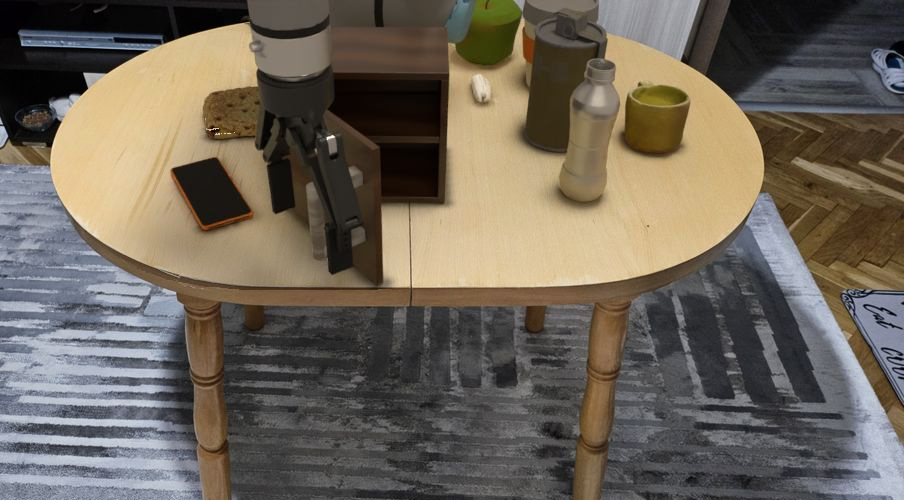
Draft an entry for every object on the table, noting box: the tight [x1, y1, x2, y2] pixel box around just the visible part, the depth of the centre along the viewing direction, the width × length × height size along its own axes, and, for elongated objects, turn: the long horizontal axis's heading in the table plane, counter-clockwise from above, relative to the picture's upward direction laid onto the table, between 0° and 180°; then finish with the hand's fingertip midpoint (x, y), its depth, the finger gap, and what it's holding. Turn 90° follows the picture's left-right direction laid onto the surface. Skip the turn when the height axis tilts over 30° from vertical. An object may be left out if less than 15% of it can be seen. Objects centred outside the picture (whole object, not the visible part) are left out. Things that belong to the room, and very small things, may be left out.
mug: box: [624, 79, 691, 154], centre depth 126 cm, size 12×10×10 cm
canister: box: [523, 8, 609, 153], centre depth 122 cm, size 11×10×20 cm
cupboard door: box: [282, 110, 384, 287], centre depth 100 cm, size 8×22×20 cm, turn 37°
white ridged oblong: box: [470, 73, 492, 103], centre depth 138 cm, size 3×8×3 cm, turn 4°
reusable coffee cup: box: [521, 0, 600, 88], centre depth 138 cm, size 13×13×15 cm
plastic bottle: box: [558, 58, 621, 202], centre depth 110 cm, size 6×7×20 cm
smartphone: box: [169, 156, 255, 231], centre depth 116 cm, size 8×17×1 cm, turn 28°
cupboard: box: [327, 27, 450, 204], centre depth 114 cm, size 14×22×20 cm, turn 89°
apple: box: [454, 0, 523, 67], centre depth 147 cm, size 12×12×11 cm
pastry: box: [202, 85, 260, 140], centre depth 133 cm, size 17×17×3 cm
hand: (311, 238), depth 93 cm, fingers open, 13 cm apart
